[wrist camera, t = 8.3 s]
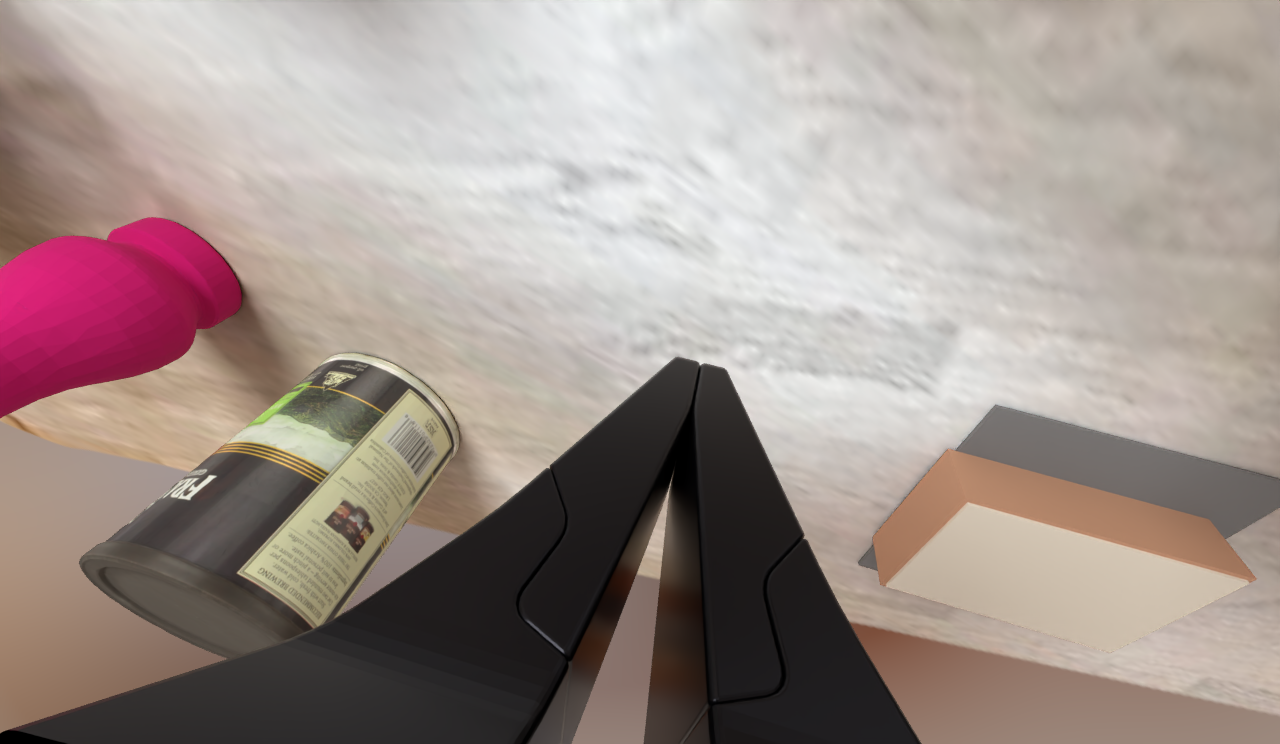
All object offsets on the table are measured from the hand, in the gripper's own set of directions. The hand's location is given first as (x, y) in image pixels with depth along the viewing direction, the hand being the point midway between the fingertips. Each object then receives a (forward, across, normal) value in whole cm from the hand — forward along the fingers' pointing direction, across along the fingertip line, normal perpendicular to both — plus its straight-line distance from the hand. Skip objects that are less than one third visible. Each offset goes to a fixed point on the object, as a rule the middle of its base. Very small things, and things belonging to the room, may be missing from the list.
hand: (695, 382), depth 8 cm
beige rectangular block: (+11, -13, +15) cm, 23 cm away
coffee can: (+14, +19, +20) cm, 31 cm away
